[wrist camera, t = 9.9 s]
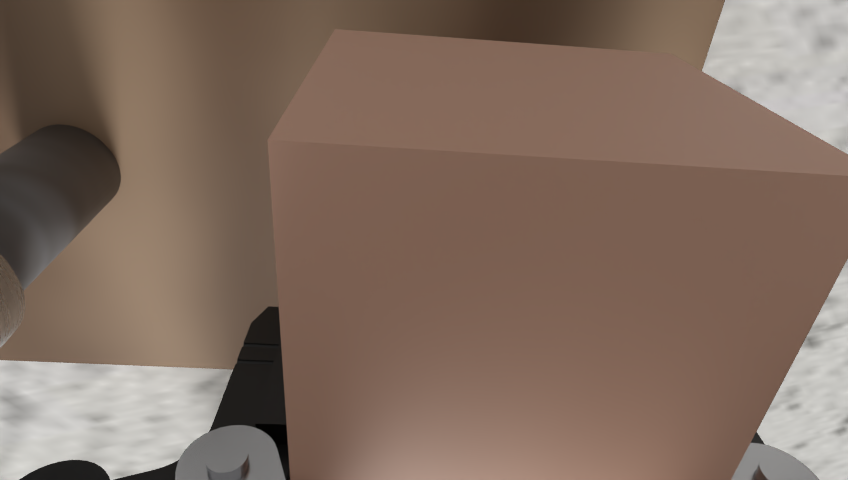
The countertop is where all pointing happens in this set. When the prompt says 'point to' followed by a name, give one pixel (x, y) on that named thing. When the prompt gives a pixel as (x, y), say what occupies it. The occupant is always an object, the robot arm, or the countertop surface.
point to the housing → (201, 150)
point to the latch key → (10, 301)
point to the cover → (539, 261)
